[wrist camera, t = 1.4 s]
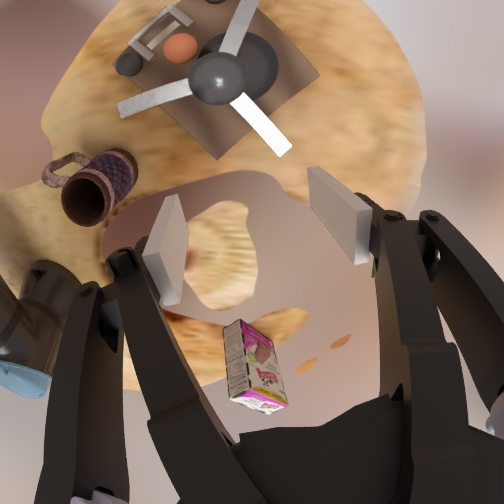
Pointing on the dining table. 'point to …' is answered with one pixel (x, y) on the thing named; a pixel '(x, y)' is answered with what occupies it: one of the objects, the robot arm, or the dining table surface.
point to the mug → (93, 184)
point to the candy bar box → (252, 369)
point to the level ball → (180, 48)
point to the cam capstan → (226, 77)
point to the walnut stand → (203, 30)
